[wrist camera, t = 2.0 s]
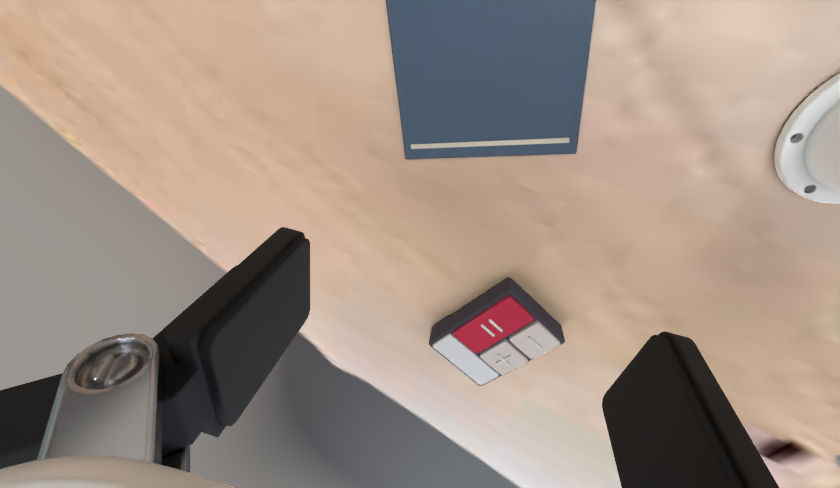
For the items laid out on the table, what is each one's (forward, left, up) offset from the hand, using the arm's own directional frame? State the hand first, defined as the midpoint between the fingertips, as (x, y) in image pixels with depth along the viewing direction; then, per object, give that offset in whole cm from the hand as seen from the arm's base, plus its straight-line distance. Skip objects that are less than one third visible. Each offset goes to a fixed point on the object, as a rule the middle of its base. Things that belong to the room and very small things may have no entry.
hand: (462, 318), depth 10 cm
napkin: (+1, -4, -31) cm, 31 cm away
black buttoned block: (0, +30, -31) cm, 43 cm away
